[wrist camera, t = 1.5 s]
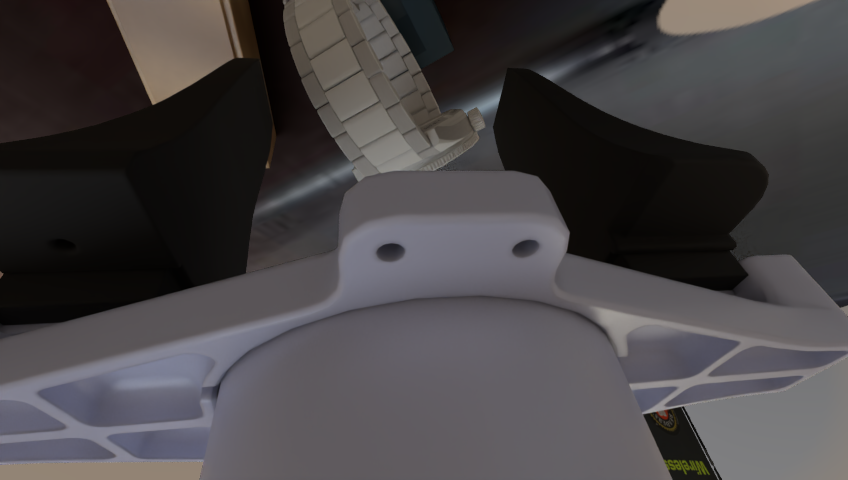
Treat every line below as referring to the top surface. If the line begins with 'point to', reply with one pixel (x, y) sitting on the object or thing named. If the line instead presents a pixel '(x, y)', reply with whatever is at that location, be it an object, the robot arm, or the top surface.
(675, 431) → the router box
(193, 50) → the pencil box
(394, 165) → the watch
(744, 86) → the top surface
